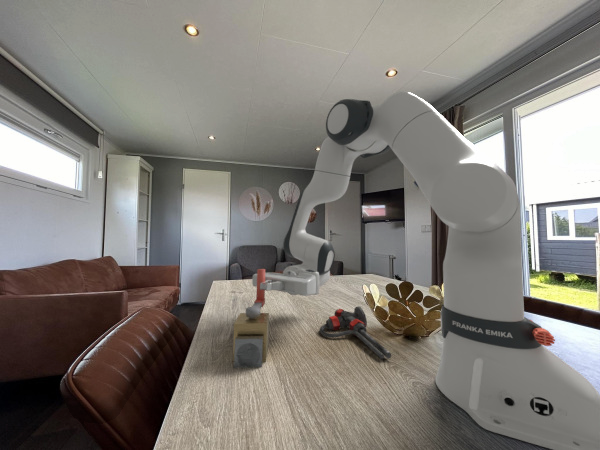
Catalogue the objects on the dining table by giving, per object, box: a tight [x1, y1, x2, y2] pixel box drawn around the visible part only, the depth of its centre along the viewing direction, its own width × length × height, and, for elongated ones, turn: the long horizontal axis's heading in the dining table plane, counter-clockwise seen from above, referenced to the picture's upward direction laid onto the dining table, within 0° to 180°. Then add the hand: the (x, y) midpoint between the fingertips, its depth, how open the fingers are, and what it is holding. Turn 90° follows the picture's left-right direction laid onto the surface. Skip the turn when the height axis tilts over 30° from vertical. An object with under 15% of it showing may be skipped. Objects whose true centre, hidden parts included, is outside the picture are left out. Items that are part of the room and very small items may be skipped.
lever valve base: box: [232, 312, 270, 369], centre depth 52 cm, size 11×7×8 cm, turn 4°
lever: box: [245, 268, 266, 318], centre depth 57 cm, size 12×3×9 cm, turn 179°
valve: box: [319, 306, 392, 360], centre depth 62 cm, size 6×26×15 cm
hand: (263, 287), depth 59 cm, fingers closed
